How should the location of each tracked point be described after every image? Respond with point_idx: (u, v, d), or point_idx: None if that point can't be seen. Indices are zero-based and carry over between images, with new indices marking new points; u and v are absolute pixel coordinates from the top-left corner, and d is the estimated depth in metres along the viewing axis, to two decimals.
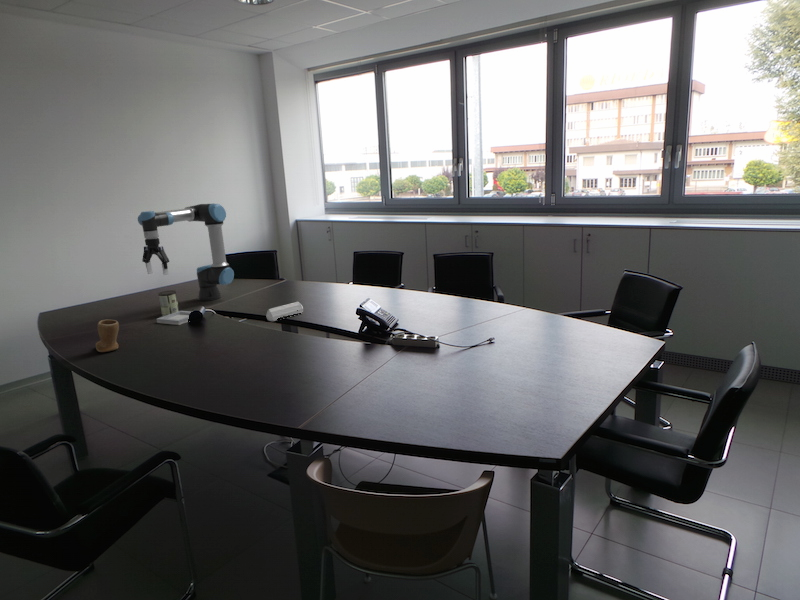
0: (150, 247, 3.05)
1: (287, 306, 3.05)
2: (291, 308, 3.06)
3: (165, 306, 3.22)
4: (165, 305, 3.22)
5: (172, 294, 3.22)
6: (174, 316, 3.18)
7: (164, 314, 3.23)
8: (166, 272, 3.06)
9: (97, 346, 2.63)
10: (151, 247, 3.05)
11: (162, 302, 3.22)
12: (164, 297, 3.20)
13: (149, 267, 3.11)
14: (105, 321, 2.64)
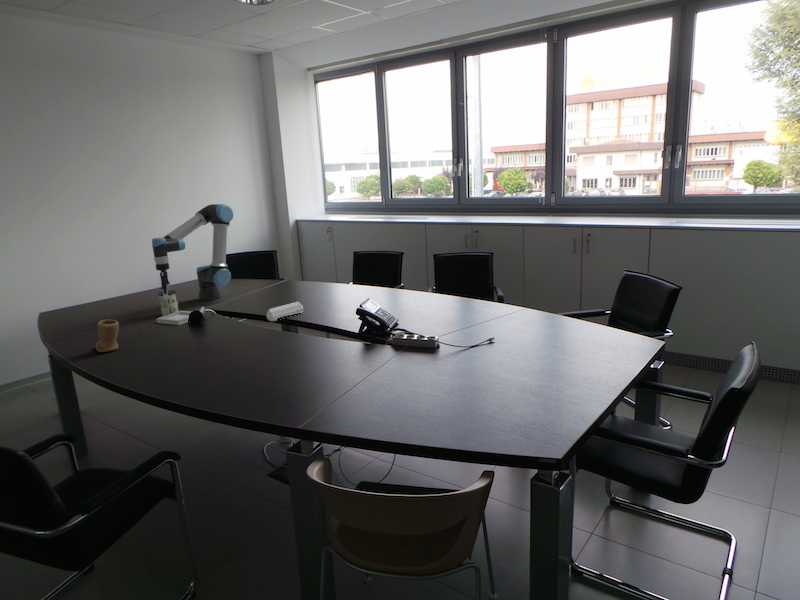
0: None
1: (287, 306, 3.05)
2: (291, 308, 3.06)
3: (165, 306, 3.22)
4: (165, 305, 3.22)
5: (172, 294, 3.22)
6: (174, 316, 3.18)
7: (164, 314, 3.23)
8: (166, 297, 3.18)
9: (97, 346, 2.63)
10: None
11: (162, 302, 3.22)
12: None
13: (167, 289, 3.30)
14: (105, 321, 2.64)
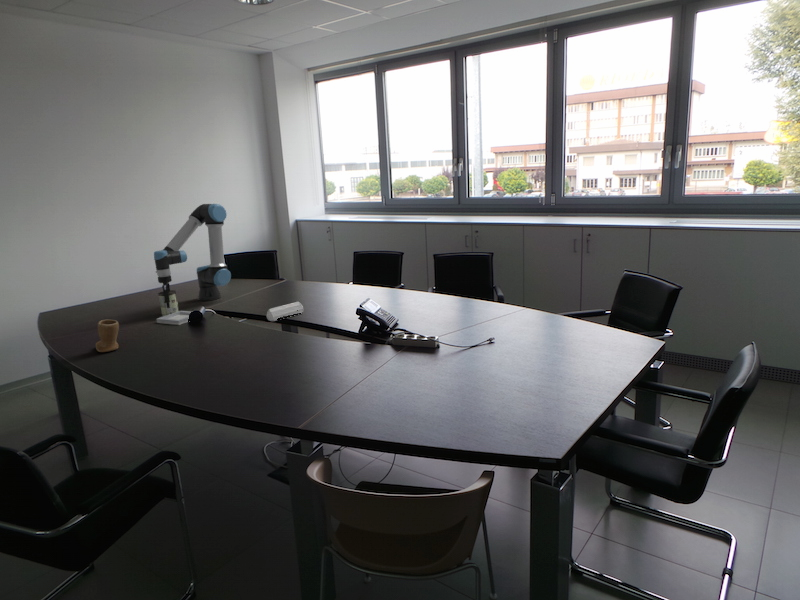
0: None
1: (287, 306, 3.06)
2: (291, 308, 3.06)
3: (165, 306, 3.22)
4: (165, 305, 3.22)
5: (172, 294, 3.22)
6: (174, 316, 3.18)
7: (164, 314, 3.23)
8: (169, 310, 3.22)
9: (97, 346, 2.63)
10: None
11: (162, 302, 3.22)
12: None
13: None
14: (105, 321, 2.64)
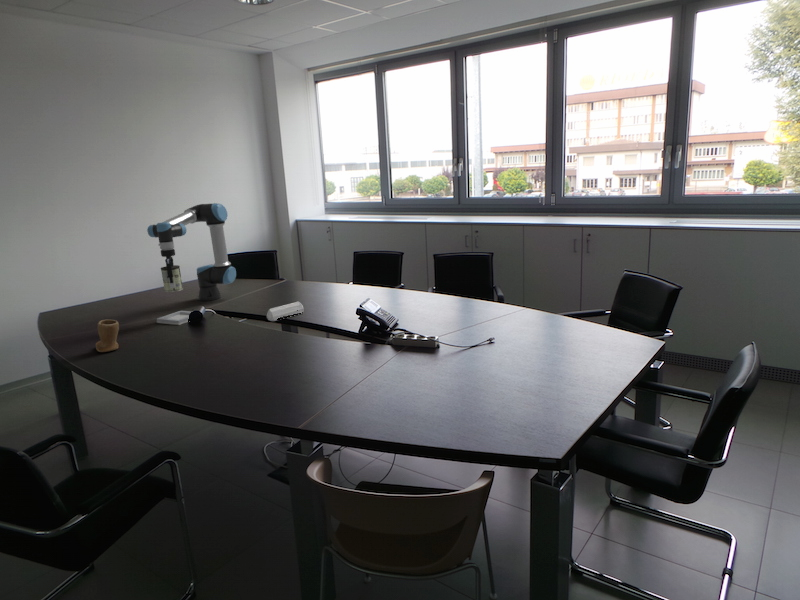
0: None
1: (287, 306, 3.06)
2: (291, 307, 3.06)
3: (168, 281, 3.04)
4: (168, 280, 3.04)
5: (175, 269, 3.05)
6: (174, 316, 3.18)
7: (167, 290, 3.06)
8: (172, 286, 3.04)
9: (97, 346, 2.63)
10: None
11: (165, 277, 3.04)
12: None
13: None
14: (105, 321, 2.64)
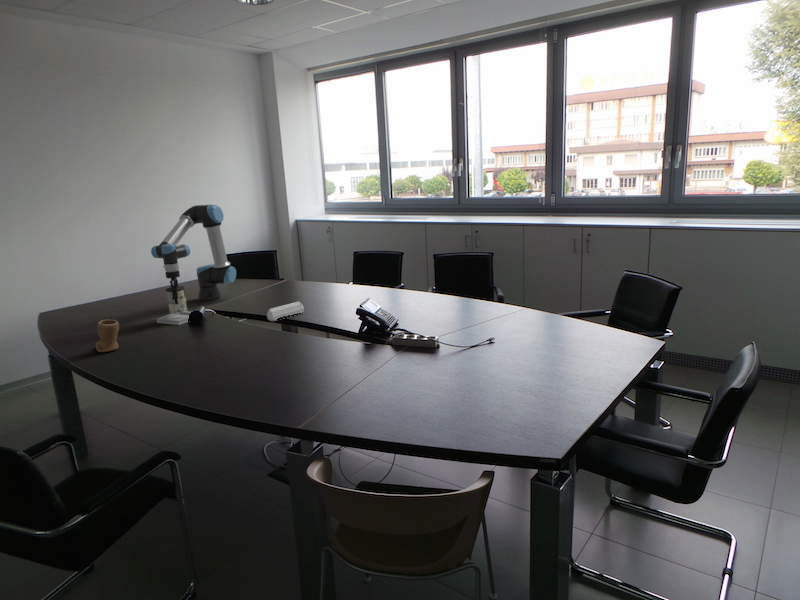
0: None
1: (288, 306, 3.06)
2: (292, 307, 3.07)
3: (173, 302, 3.06)
4: (173, 302, 3.06)
5: (180, 290, 3.07)
6: (174, 316, 3.18)
7: (172, 311, 3.08)
8: (177, 307, 3.06)
9: (97, 346, 2.63)
10: None
11: (170, 298, 3.06)
12: None
13: None
14: (105, 321, 2.64)
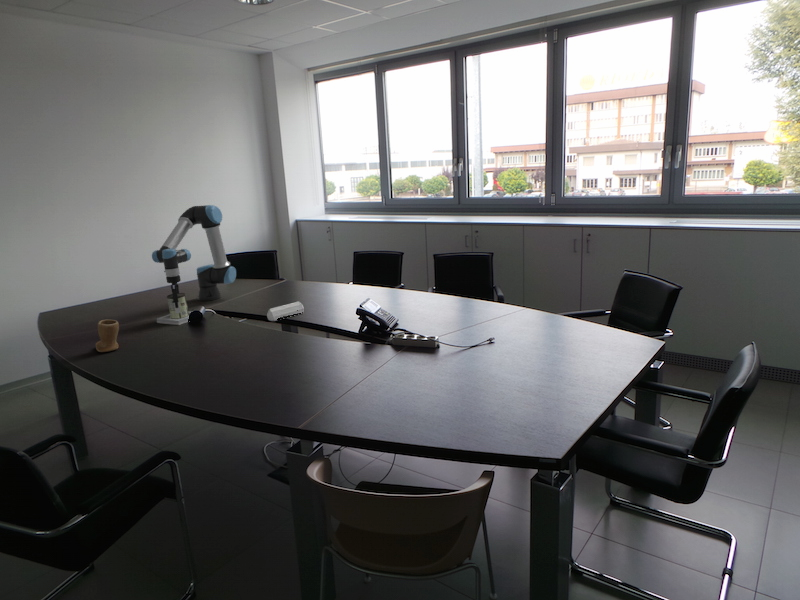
0: (172, 284, 3.09)
1: (288, 306, 3.06)
2: (292, 307, 3.07)
3: (174, 309, 3.08)
4: (174, 308, 3.08)
5: (181, 297, 3.09)
6: None
7: (173, 318, 3.10)
8: (178, 311, 3.06)
9: (97, 346, 2.63)
10: (172, 284, 3.08)
11: (171, 305, 3.08)
12: None
13: None
14: (105, 321, 2.64)
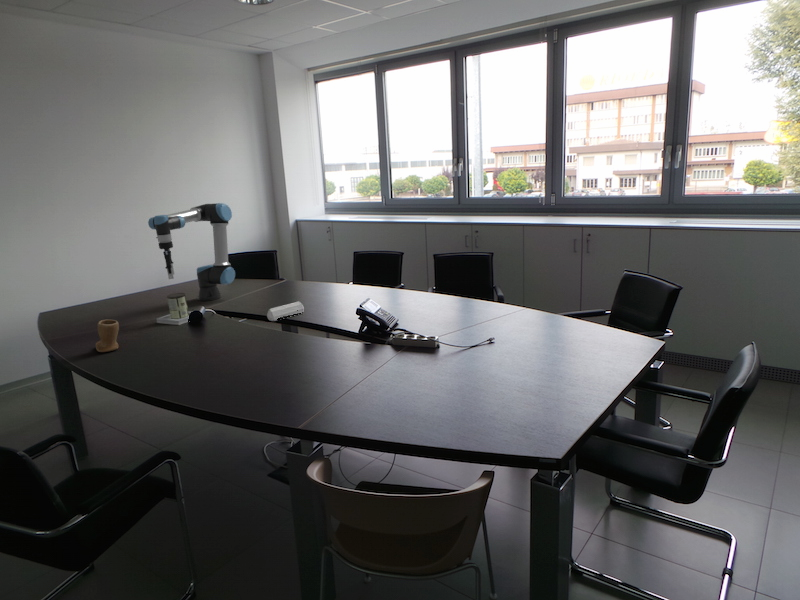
0: None
1: (288, 306, 3.06)
2: (292, 307, 3.07)
3: (174, 309, 3.08)
4: (175, 308, 3.08)
5: (181, 297, 3.09)
6: None
7: (173, 318, 3.10)
8: (171, 276, 3.08)
9: (97, 346, 2.63)
10: None
11: (171, 305, 3.08)
12: (173, 300, 3.06)
13: None
14: (105, 321, 2.64)
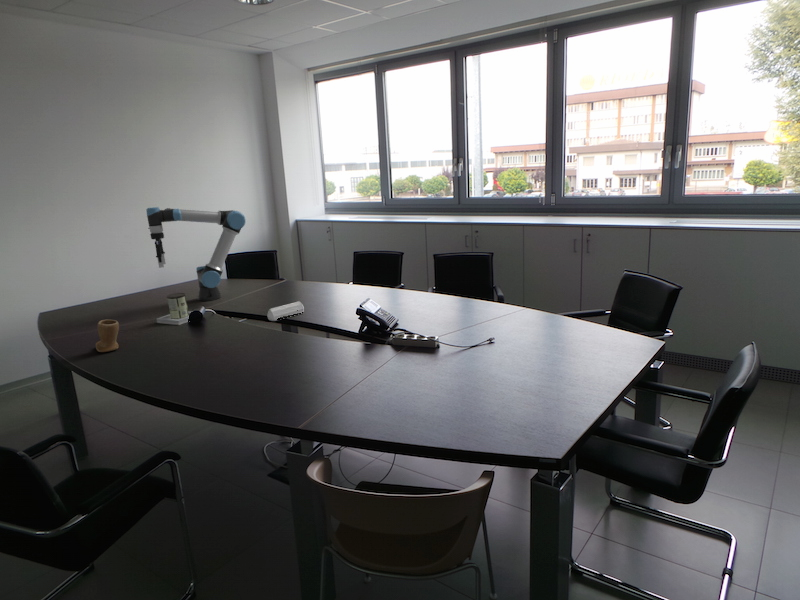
0: None
1: (288, 306, 3.06)
2: (292, 307, 3.07)
3: (174, 309, 3.08)
4: (175, 308, 3.08)
5: (181, 297, 3.09)
6: None
7: (173, 318, 3.10)
8: (161, 265, 3.27)
9: (97, 346, 2.63)
10: None
11: (171, 305, 3.08)
12: (173, 300, 3.06)
13: (162, 258, 3.39)
14: (105, 321, 2.64)
